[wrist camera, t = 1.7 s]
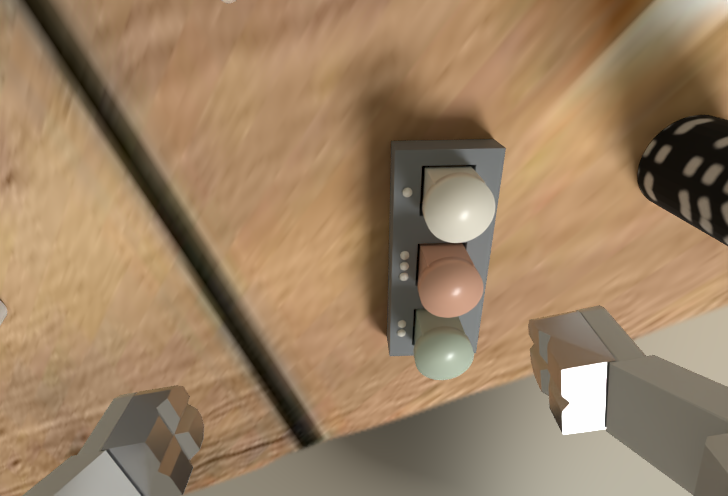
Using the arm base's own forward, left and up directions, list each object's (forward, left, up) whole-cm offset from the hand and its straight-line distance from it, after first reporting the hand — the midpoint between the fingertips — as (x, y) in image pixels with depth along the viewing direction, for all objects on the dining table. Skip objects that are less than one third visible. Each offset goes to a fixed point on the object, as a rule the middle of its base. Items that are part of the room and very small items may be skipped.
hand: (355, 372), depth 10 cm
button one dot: (0, -10, -26) cm, 28 cm away
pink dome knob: (-7, -13, -26) cm, 30 cm away
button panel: (-7, -13, -29) cm, 32 cm away
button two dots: (-13, -17, -26) cm, 34 cm away
